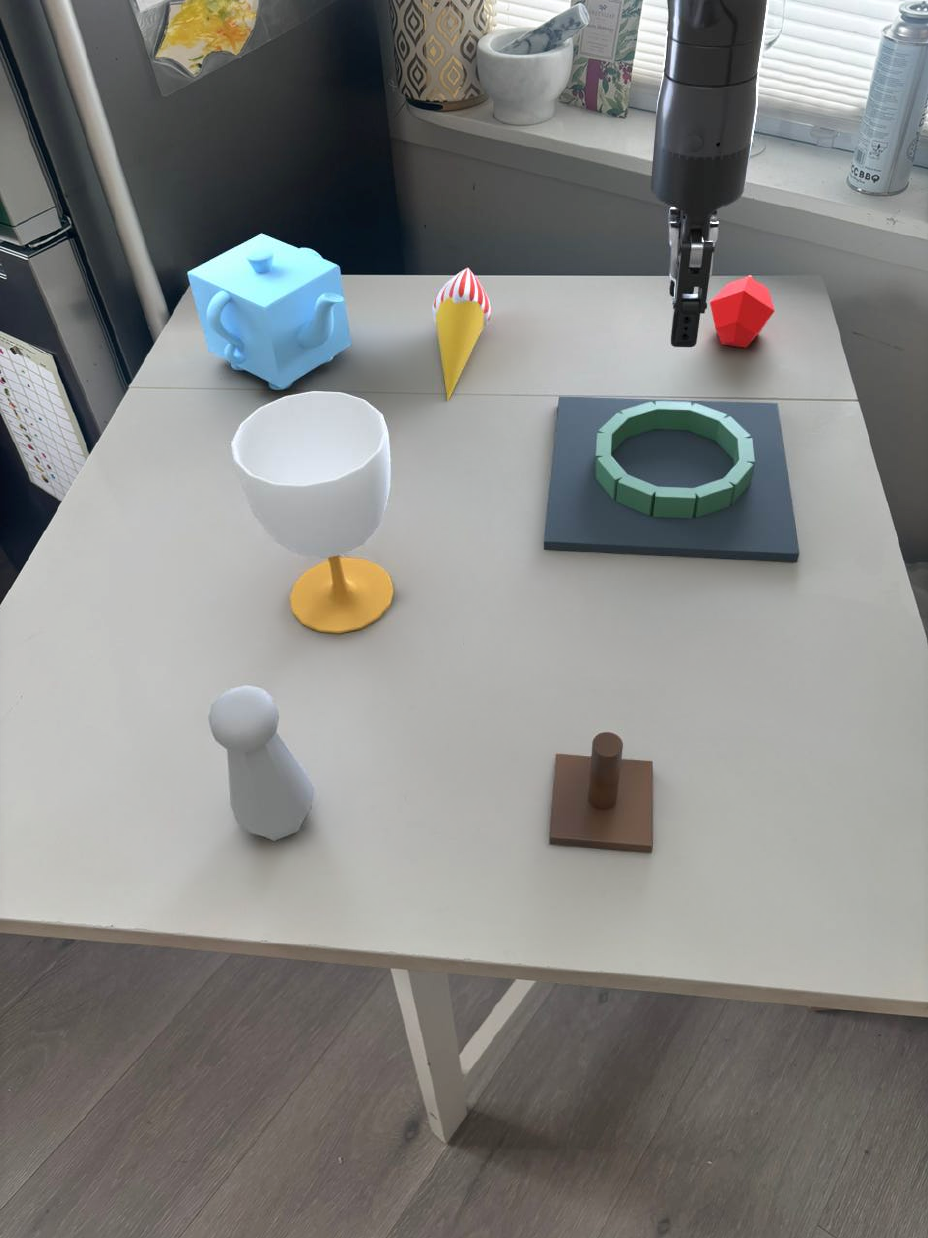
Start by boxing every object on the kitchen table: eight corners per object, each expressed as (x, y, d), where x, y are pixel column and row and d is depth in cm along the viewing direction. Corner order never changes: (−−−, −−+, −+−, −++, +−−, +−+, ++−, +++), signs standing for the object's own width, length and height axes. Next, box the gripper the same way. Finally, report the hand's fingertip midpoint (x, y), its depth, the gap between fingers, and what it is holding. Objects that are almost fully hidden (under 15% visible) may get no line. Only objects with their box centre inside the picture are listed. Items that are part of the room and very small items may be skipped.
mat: (776, 411, 101) (777, 402, 100) (797, 562, 86) (799, 553, 85) (558, 404, 103) (558, 396, 103) (543, 549, 89) (543, 541, 88)
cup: (299, 665, 81) (257, 506, 68) (257, 575, 88) (211, 417, 76) (430, 615, 84) (413, 455, 71) (379, 533, 91) (354, 374, 79)
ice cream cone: (442, 428, 109) (462, 296, 118) (488, 408, 105) (505, 274, 114) (405, 395, 105) (429, 261, 114) (452, 373, 101) (472, 237, 110)
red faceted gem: (763, 319, 102) (780, 258, 105) (699, 318, 106) (716, 259, 108) (770, 361, 108) (786, 303, 111) (708, 359, 111) (725, 302, 114)
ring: (744, 423, 98) (748, 403, 96) (754, 521, 88) (759, 501, 87) (597, 418, 100) (599, 398, 98) (592, 514, 90) (593, 493, 88)
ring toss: (651, 768, 73) (661, 705, 67) (651, 853, 68) (662, 793, 62) (555, 760, 73) (557, 698, 68) (549, 844, 69) (550, 785, 63)
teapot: (193, 373, 111) (162, 265, 101) (296, 313, 118) (275, 207, 109) (304, 433, 102) (280, 320, 93) (406, 364, 110) (395, 253, 100)
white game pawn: (246, 780, 74) (204, 669, 64) (323, 780, 73) (291, 668, 64) (231, 851, 70) (184, 743, 60) (312, 851, 69) (277, 743, 60)
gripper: (759, 171, 72) (728, 364, 84) (746, 97, 82) (720, 280, 94) (655, 171, 73) (639, 362, 85) (654, 98, 83) (640, 279, 95)
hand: (681, 319), depth 90 cm, fingers open, 8 cm apart
